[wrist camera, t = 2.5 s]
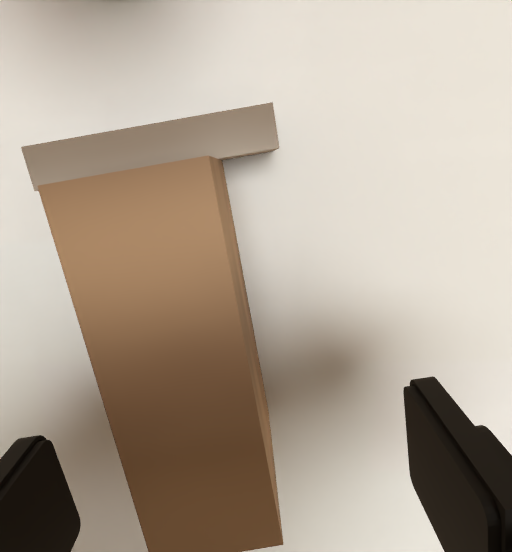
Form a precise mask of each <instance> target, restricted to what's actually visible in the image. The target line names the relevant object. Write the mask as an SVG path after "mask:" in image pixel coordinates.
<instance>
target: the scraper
mask: <svg viewBox="0 0 512 552" xmlns="http://www.w3.org/2000/svg"><path fill="white" fill-rule="evenodd" d="M21 148H22V152H23V155H24V158H25V161H26V165H27V168H28V171H29V174H30V178H31V181H32V184H33V187H34V191H39V193H40V196H41V200H42V203H43V206H44V209H45V213H46V216H47V219H48V223H49V226H50V229H51V233H52V236H53V239H54V242H55V246H56V249H57V252H58V256H59V259H60V262H61V265H62V269H63V272H64V275H65V279H66V282H67V285H68V288H69V292H70V295H71V298H72V302H73V305H74V308H75V311H76V315H77V318H78V321H79V325H80V328H81V331H82V334H83V338H84V341H85V344H86V348H87V351H88V354H89V357H90V361H91V364H92V367H93V371H94V374H95V377H96V380H97V384H98V387H99V390H100V394H101V397H102V400H103V403H104V407H105V410H106V413H107V417H108V420H109V423H110V426H111V430H112V433H113V436H114V440H115V443H116V446H117V449H118V453H119V456H120V459H121V463H122V466H123V469H124V472H125V476H126V479H127V482H128V486H129V489H130V492H131V495H132V499H133V502H134V505H135V509H136V512H137V515H138V519H139V522H140V525H141V528H142V532H143V535H144V538H145V542H146V545H147V548H148V551H149V552H242V551H248V550H254V549H260V548H266V547H272V546H278V545H283V537H282V529H281V520H280V511H279V502H278V493H277V484H276V475H275V466H274V457H273V448H272V439H271V430H270V421H269V412H268V407H267V401H266V396H265V391H264V385H263V380H262V374H261V369H260V363H259V358H258V353H257V347H256V342H255V336H254V331H253V326H252V320H251V315H250V309H249V304H248V298H247V293H246V288H245V282H244V277H243V271H242V266H241V260H240V255H239V250H238V244H237V239H236V233H235V228H234V223H233V217H232V212H231V206H230V201H229V195H228V190H227V185H226V179H225V174H224V168H223V163H222V160H226V159H232V158H237V157H243V156H249V155H254V154H260V153H266V152H271V151H274V150H276V149H278V148H279V143H278V136H277V129H276V123H275V116H274V109H273V102H272V103H267V104H261V105H255V106H250V107H244V108H239V109H233V110H227V111H222V112H216V113H210V114H205V115H199V116H193V117H188V118H182V119H177V120H171V121H165V122H160V123H154V124H148V125H143V126H137V127H131V128H126V129H120V130H115V131H109V132H103V133H98V134H92V135H86V136H81V137H75V138H70V139H64V140H58V141H53V142H47V143H41V144H36V145H30V146H24V147H21Z"/></svg>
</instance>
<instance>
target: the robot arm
mask: <svg viewBox="0 0 512 552" xmlns="http://www.w3.org/2000/svg"><path fill="white" fill-rule="evenodd" d="M404 404H405V417H406V430H407V443H408V456H409V470H410V476H411V480H412V484H413V486H414V489H415V491H416V493H417V495H418V497H419V499H420V501H421V503H422V506H423V508H424V510H425V512H426V514H427V516H428V518H429V520H430V522H431V524H432V526H433V528H434V531H435V533H436V535H437V537H438V539H439V541H440V543H441V545H442V547H443V549H444V551H445V552H512V455H511V454H510V453H509V452H508V451H507V450H506V448H505V447H504V446H503V445H502V444H501V443H500V441H499V440H498V439H497V438H496V437H495V436H494V434H493V433H492V432H491V431H490V430H489V429H488V428H487V427H485V426H483V425H480V426H474V425H473V423H472V422H471V421H470V420H469V418H468V417H467V416H466V415H465V414H464V412H463V411H462V410H461V409H460V407H459V406H458V405H457V404H456V402H455V401H454V400H453V399H452V398H451V396H450V395H449V394H448V393H447V391H446V390H445V389H444V388H443V386H442V385H441V384H440V383H439V382H438V380H437V379H436V378H435V377H427V378H421V379H414V380H411V381H410V386H407V387H404ZM79 531H80V517H79V514H78V511H77V509H76V506H75V503H74V501H73V498H72V495H71V493H70V490H69V487H68V484H67V482H66V479H65V476H64V474H63V471H62V468H61V465H60V463H59V460H58V457H57V455H56V452H55V449H54V446H53V444H52V442H51V441H50V440H46V438H45V437H44V436H41V435H39V436H33V437H26V438H20V439H18V440H16V441H15V442H14V443H13V445H12V446H11V447H10V448H9V449H8V451H7V452H6V453H5V454H4V455H3V457H2V458H1V459H0V552H71V550H72V547H73V545H74V543H75V541H76V539H77V537H78V534H79Z"/></svg>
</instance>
